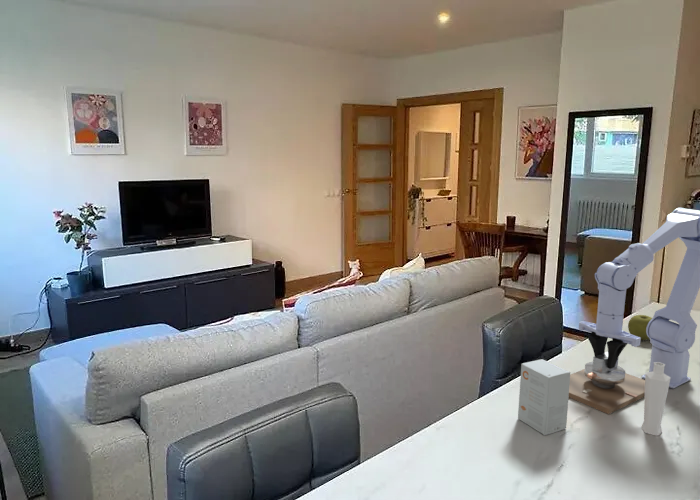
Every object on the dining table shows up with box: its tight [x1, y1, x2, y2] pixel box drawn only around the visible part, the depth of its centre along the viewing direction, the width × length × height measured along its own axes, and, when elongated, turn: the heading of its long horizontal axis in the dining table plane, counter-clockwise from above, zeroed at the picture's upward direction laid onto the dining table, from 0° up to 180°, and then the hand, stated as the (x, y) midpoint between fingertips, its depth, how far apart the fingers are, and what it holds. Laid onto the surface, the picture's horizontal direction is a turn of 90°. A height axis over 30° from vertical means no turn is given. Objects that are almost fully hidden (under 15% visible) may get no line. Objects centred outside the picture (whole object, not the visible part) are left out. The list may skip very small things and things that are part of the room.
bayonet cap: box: [584, 351, 626, 384], centre depth 130 cm, size 11×9×6 cm
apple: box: [627, 314, 653, 341], centre depth 165 cm, size 8×8×7 cm
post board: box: [569, 368, 645, 415], centre depth 131 cm, size 22×16×3 cm
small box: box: [517, 358, 571, 436], centre depth 114 cm, size 8×6×13 cm
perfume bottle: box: [640, 362, 671, 436], centre depth 111 cm, size 5×4×15 cm
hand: (605, 365), depth 130 cm, fingers closed on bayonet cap, 2 cm apart
